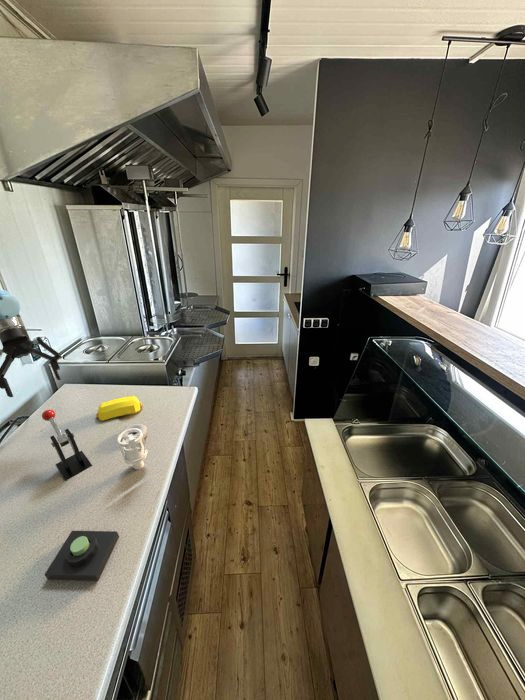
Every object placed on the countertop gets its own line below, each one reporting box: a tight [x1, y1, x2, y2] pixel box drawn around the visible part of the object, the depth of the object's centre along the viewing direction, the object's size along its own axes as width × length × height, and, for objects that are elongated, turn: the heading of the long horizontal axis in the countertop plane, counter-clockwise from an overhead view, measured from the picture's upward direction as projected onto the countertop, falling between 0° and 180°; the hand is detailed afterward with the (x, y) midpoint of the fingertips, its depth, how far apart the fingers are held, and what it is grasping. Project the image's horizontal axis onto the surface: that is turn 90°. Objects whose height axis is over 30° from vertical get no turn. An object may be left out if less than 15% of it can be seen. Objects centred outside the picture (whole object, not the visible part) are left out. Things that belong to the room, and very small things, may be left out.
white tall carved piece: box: [117, 428, 149, 470], centre depth 91 cm, size 7×7×15 cm
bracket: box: [49, 428, 93, 482], centre depth 92 cm, size 10×8×14 cm
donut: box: [118, 423, 148, 442], centre depth 106 cm, size 10×4×10 cm
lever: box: [41, 409, 70, 448], centre depth 92 cm, size 14×4×4 cm, turn 50°
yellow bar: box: [95, 395, 143, 421], centre depth 119 cm, size 18×7×8 cm
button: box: [70, 536, 90, 556], centre depth 68 cm, size 4×4×2 cm
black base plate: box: [44, 530, 120, 582], centre depth 69 cm, size 12×10×4 cm
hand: (35, 387), depth 95 cm, fingers open, 13 cm apart
